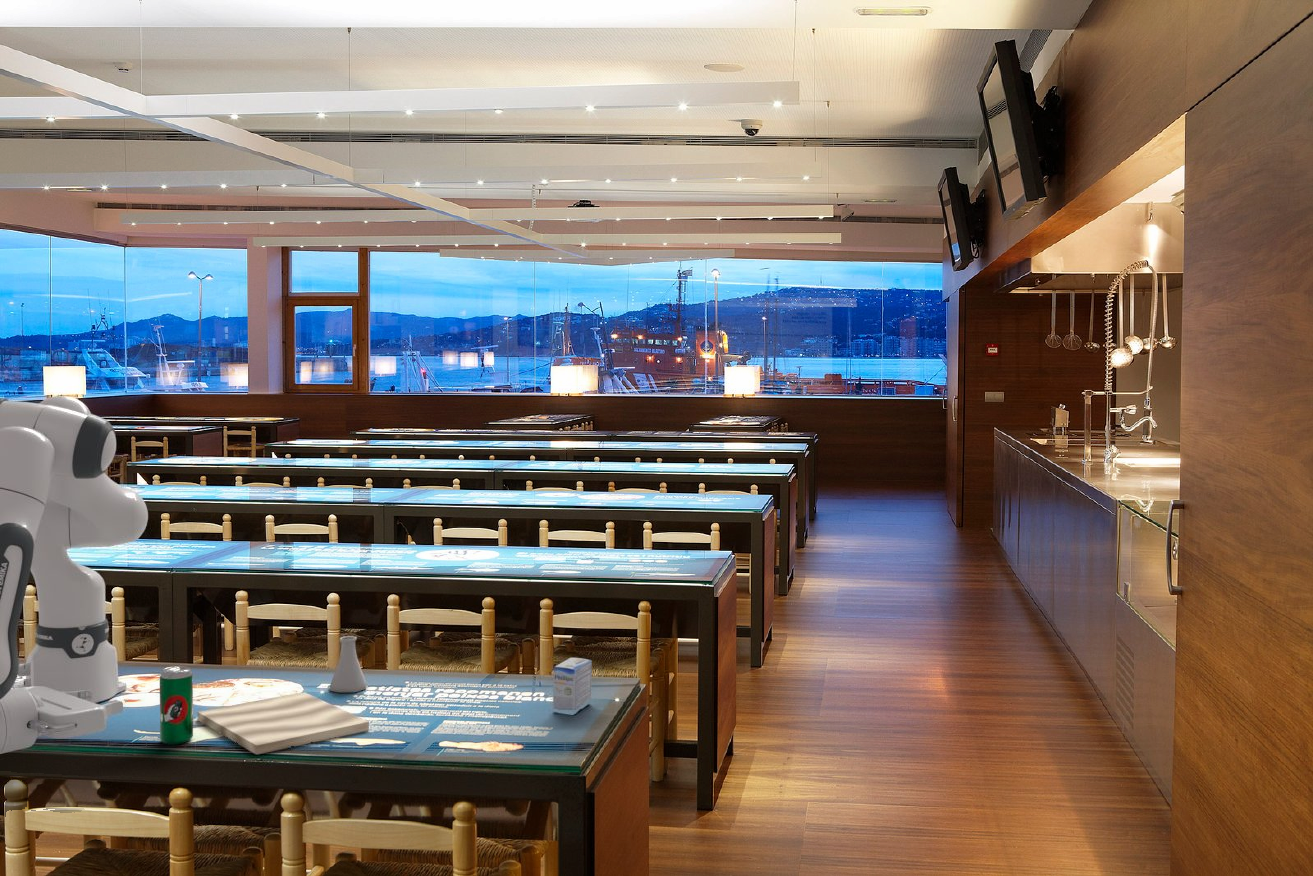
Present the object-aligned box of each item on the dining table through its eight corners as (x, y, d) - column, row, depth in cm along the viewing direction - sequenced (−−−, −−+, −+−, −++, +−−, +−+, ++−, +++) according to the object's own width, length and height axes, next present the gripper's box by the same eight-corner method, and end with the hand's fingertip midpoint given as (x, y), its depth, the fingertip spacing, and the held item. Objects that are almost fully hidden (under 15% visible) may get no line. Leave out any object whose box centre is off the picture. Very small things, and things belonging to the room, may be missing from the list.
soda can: (199, 739, 196) (199, 668, 196) (172, 747, 192) (171, 674, 192) (180, 734, 199) (180, 663, 199) (153, 741, 195) (153, 670, 194)
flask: (357, 695, 225) (357, 643, 224) (321, 692, 226) (321, 640, 226) (373, 685, 232) (373, 635, 231) (339, 682, 233) (339, 632, 233)
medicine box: (569, 702, 222) (570, 656, 222) (591, 705, 221) (592, 659, 221) (552, 713, 215) (552, 666, 215) (574, 716, 214) (575, 669, 213)
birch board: (197, 720, 207) (197, 711, 207) (304, 700, 221) (304, 692, 221) (256, 754, 190) (256, 745, 189) (368, 730, 203) (368, 721, 203)
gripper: (47, 711, 168) (140, 691, 179) (-18, 687, 180) (72, 670, 191) (47, 755, 168) (140, 733, 179) (-18, 728, 180) (72, 709, 191)
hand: (104, 700), depth 185 cm, fingers open, 8 cm apart
